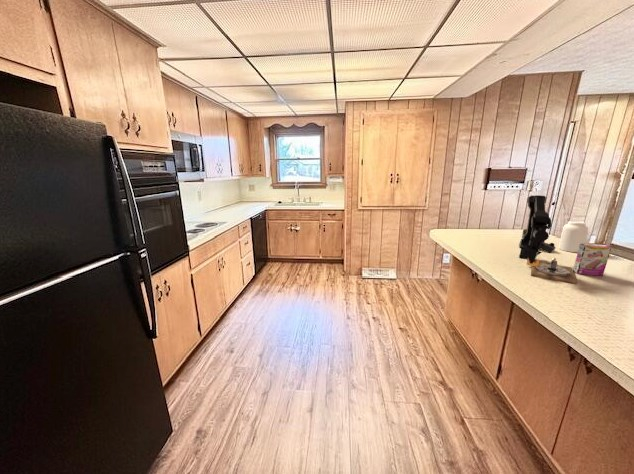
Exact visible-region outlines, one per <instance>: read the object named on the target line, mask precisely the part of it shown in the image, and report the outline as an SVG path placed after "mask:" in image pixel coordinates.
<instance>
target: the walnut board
mask: <svg viewBox="0 0 634 474" xmlns="http://www.w3.org/2000/svg"><path fill="white" fill-rule="evenodd" d="M540 265H551V263H550V264H548V263H545V262H544V263H543V262H541V264H540ZM557 267H561V268H565V269H566V270H568V271H569V272H570V274H569V275H567V276H556V275H550V274H547V273H543V272H540V271H539V270H538V269H536V267H533V266H530V276H531V277H534V278H535V277H536V278H541V279H546V280H552V281H555V282H556V281H557V282H561V283H562V282H563V283H568V284H573V285H577V284H578V281H577V279H576V275H575V272H574V271H573V268H572V267H569V266H561V265H557Z"/></svg>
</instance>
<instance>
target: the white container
mask: <svg viewBox="0 0 634 474" xmlns="http://www.w3.org/2000/svg"><path fill="white" fill-rule="evenodd" d="M563 225H564V226H563V228H562V230H561V234H560V240H559V243H558V249H559V250H562V251H564V252H569V253H578V249H579V246H580V243H583V244H586V241H587V236H588V233H589V227H588V226H587V225H586V222H584V221H580V220H570V221H567V223H566V224H563Z"/></svg>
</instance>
